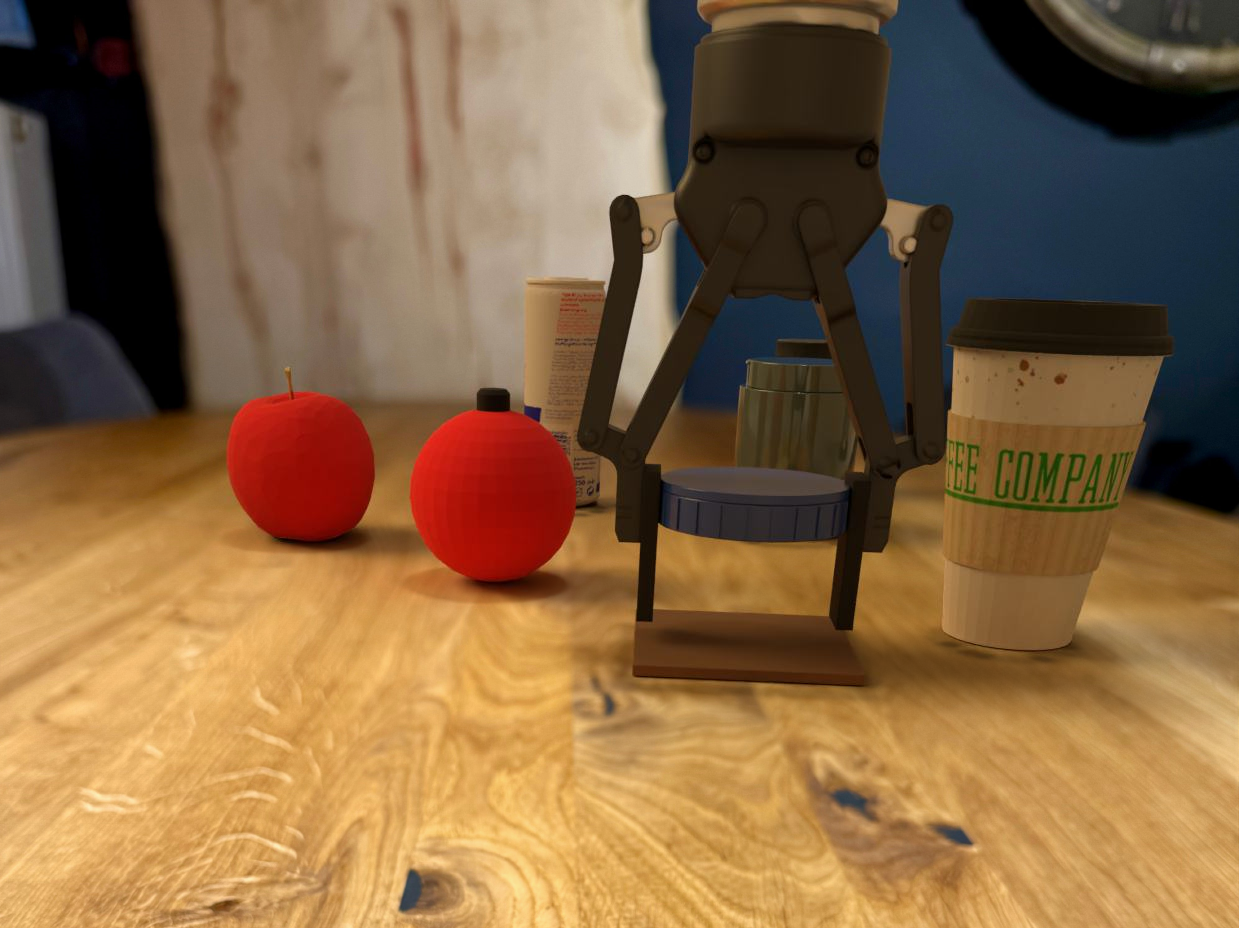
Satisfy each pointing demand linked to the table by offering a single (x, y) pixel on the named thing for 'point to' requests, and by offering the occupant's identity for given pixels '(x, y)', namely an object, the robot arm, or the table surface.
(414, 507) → the ornament
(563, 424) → the beverage can
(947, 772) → the table surface
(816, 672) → the coaster
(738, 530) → the lid
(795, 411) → the jar
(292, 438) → the fruit
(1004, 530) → the coffee cup
